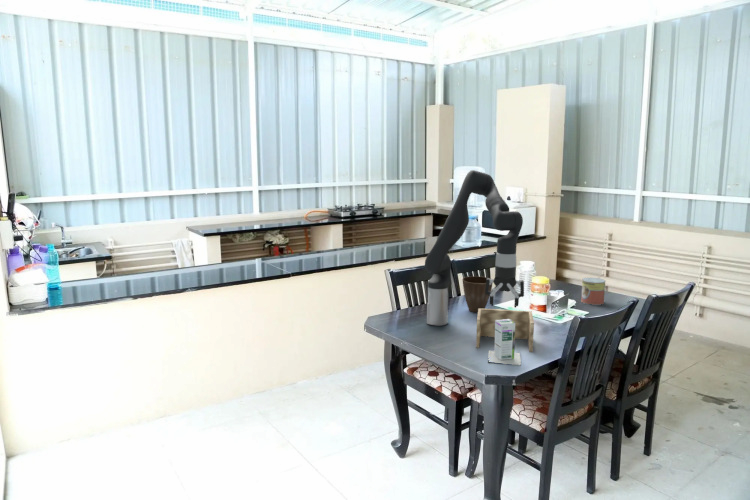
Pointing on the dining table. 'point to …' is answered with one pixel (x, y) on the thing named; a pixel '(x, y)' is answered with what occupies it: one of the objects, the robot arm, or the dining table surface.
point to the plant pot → (475, 292)
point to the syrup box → (504, 339)
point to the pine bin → (488, 317)
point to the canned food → (593, 291)
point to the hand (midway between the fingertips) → (503, 306)
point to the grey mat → (508, 361)
